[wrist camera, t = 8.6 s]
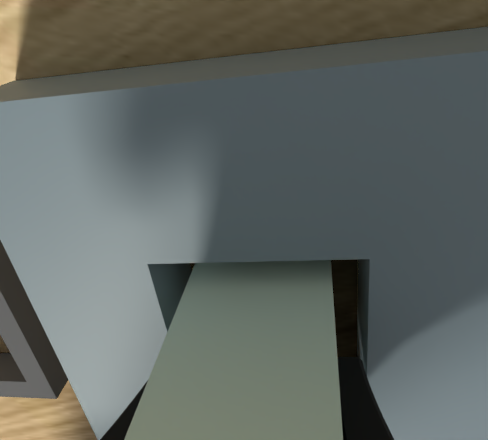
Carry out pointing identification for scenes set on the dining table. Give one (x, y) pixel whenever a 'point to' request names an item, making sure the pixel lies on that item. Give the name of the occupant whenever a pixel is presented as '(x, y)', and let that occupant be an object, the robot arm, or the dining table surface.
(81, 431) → the dining table surface
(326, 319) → the plug
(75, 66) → the dining table surface
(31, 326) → the grey rectangular frame
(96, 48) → the dining table surface
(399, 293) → the port block
